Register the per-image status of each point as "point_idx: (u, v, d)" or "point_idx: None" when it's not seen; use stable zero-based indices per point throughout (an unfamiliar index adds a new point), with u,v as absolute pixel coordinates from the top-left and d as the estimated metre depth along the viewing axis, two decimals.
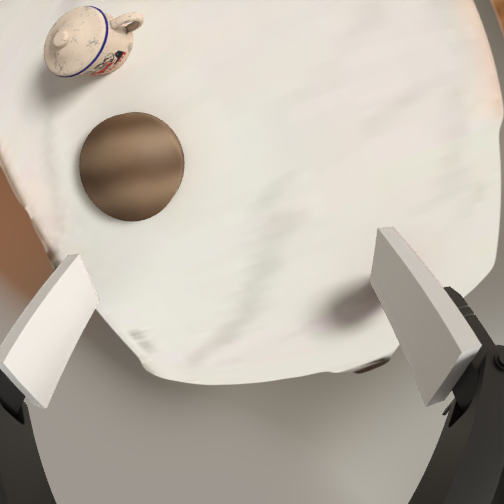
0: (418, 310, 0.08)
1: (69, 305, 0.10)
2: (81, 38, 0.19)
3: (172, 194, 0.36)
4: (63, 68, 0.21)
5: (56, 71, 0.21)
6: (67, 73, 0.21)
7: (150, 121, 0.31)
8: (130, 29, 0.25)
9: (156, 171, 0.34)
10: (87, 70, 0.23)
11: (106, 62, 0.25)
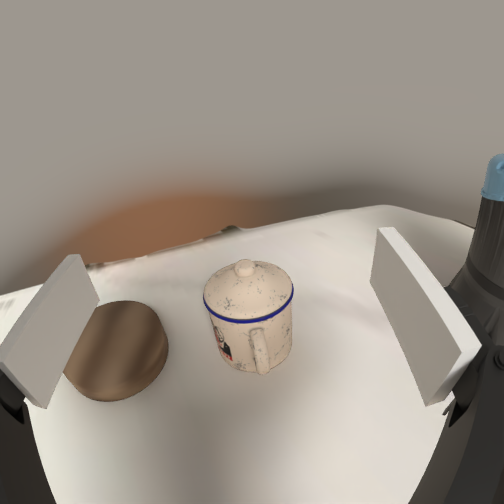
0: (418, 310, 0.08)
1: (69, 305, 0.10)
2: (237, 290, 0.26)
3: (63, 371, 0.26)
4: (215, 278, 0.29)
5: (217, 272, 0.30)
6: (207, 282, 0.29)
7: (135, 371, 0.27)
8: None
9: (88, 364, 0.28)
10: None
11: (216, 332, 0.29)
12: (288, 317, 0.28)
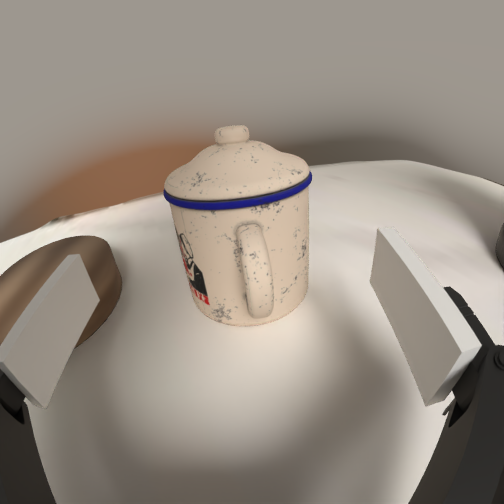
0: (418, 310, 0.08)
1: (69, 305, 0.10)
2: (215, 159, 0.15)
3: None
4: None
5: None
6: None
7: None
8: None
9: (7, 308, 0.16)
10: None
11: (182, 249, 0.17)
12: (305, 221, 0.17)
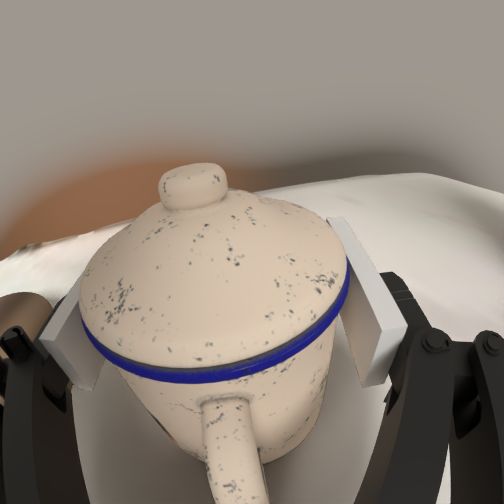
0: (353, 292, 0.09)
1: None
2: (153, 254, 0.07)
3: None
4: (123, 230, 0.10)
5: None
6: (105, 242, 0.10)
7: None
8: None
9: None
10: None
11: None
12: (330, 348, 0.09)
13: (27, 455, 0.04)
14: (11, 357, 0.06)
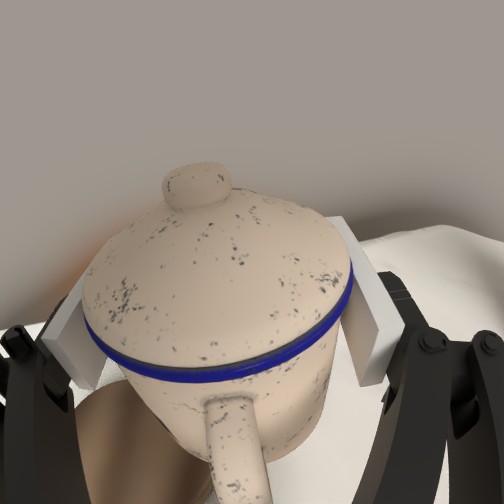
0: None
1: None
2: (157, 253, 0.07)
3: None
4: (126, 229, 0.10)
5: None
6: (108, 241, 0.10)
7: None
8: None
9: (108, 484, 0.15)
10: None
11: None
12: (333, 347, 0.09)
13: (29, 456, 0.04)
14: (13, 356, 0.06)
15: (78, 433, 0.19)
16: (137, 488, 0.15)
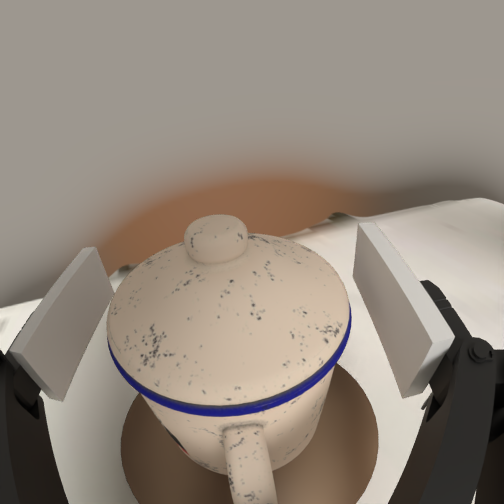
0: (393, 302, 0.08)
1: (86, 297, 0.11)
2: (183, 306, 0.08)
3: None
4: (144, 266, 0.11)
5: (155, 254, 0.12)
6: None
7: (357, 497, 0.09)
8: None
9: (224, 502, 0.10)
10: None
11: None
12: (330, 378, 0.10)
13: (5, 458, 0.03)
14: None
15: (151, 429, 0.14)
16: (278, 496, 0.10)
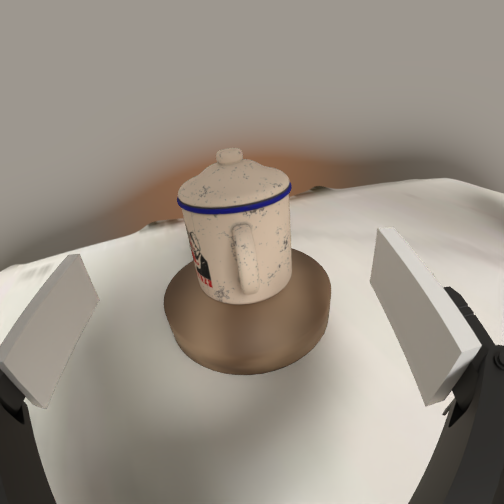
0: (418, 310, 0.08)
1: (69, 305, 0.10)
2: (217, 176, 0.20)
3: (187, 336, 0.21)
4: (194, 177, 0.23)
5: None
6: None
7: (318, 317, 0.21)
8: None
9: (233, 320, 0.22)
10: None
11: (191, 244, 0.23)
12: (285, 222, 0.22)
13: None
14: None
15: (185, 289, 0.26)
16: (267, 315, 0.22)
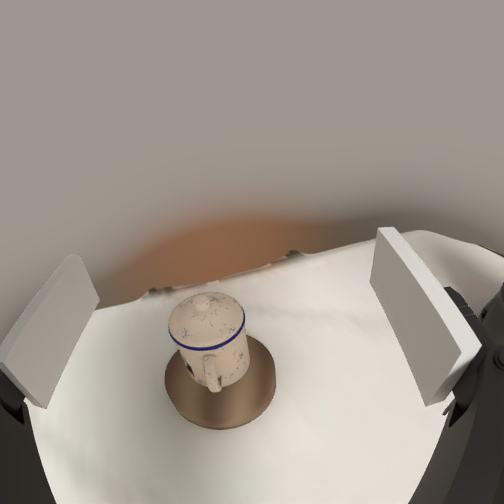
0: (418, 310, 0.08)
1: (69, 305, 0.10)
2: (192, 322, 0.30)
3: (180, 407, 0.31)
4: (179, 308, 0.33)
5: (182, 302, 0.34)
6: (173, 311, 0.33)
7: (261, 400, 0.31)
8: None
9: (208, 398, 0.32)
10: None
11: (180, 353, 0.33)
12: (240, 345, 0.32)
13: None
14: None
15: (178, 371, 0.36)
16: (229, 396, 0.32)
